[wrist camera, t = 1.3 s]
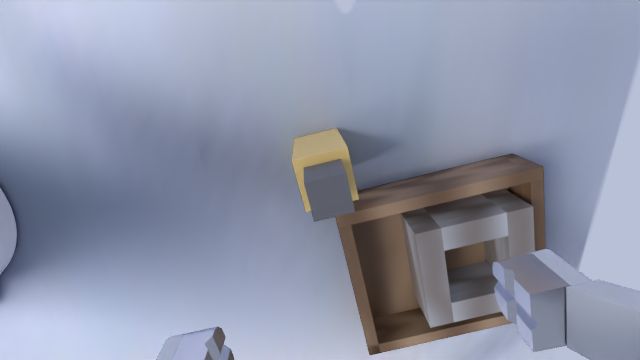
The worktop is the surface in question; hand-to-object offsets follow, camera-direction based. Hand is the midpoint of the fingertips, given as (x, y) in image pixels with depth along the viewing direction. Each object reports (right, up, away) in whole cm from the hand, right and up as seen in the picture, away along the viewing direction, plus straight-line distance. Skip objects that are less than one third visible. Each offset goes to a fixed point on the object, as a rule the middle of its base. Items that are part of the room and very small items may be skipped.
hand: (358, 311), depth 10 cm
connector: (-1, +6, +19) cm, 20 cm away
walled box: (+9, -2, +22) cm, 24 cm away
